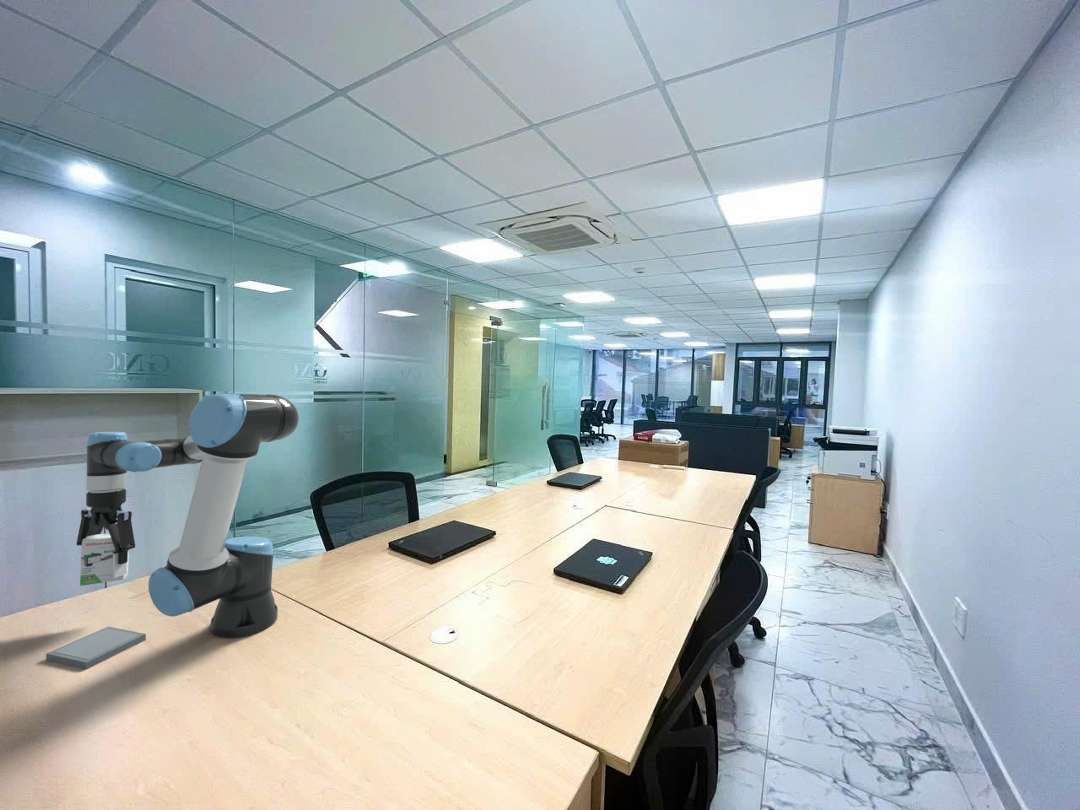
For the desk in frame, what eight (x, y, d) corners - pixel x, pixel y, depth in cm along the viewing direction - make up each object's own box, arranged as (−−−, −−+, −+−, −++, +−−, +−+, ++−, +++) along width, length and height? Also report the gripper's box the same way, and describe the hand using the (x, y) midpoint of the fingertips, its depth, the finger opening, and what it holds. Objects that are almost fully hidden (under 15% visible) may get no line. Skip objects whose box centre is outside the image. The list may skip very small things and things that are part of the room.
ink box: (78, 586, 110) (79, 540, 110) (85, 579, 114) (86, 535, 114) (124, 579, 115) (125, 535, 115) (129, 573, 119) (130, 530, 119)
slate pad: (145, 639, 107) (145, 633, 107) (86, 669, 96) (86, 662, 96) (108, 632, 110) (108, 626, 110) (45, 659, 98) (46, 653, 98)
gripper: (154, 489, 116) (153, 572, 116) (92, 484, 120) (90, 564, 121) (122, 495, 109) (121, 584, 109) (57, 489, 113) (56, 574, 113)
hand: (105, 573), depth 115 cm, fingers closed on ink box, 9 cm apart
